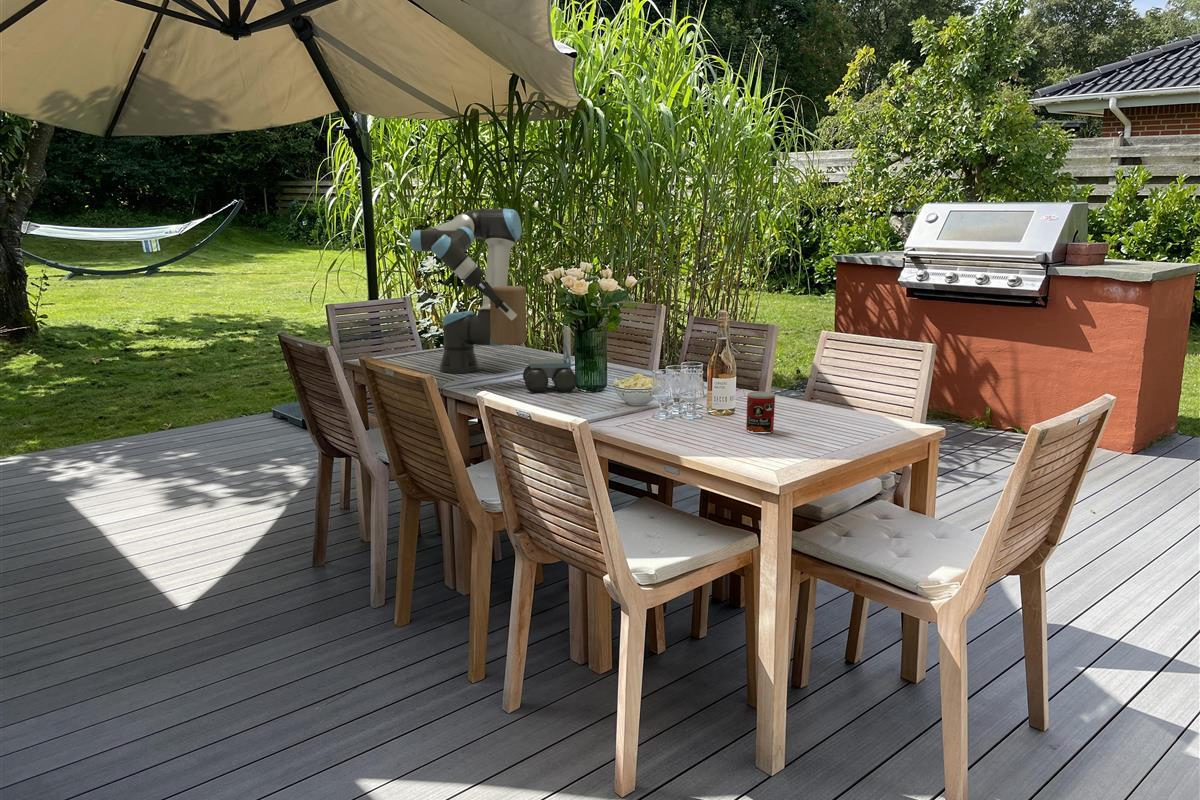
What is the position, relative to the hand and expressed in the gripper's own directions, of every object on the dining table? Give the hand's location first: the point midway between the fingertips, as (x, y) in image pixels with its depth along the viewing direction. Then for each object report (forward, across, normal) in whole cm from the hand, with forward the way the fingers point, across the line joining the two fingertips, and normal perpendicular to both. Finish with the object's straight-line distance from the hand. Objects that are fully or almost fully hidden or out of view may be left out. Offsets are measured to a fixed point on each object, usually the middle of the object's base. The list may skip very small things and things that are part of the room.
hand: (513, 316), depth 324 cm
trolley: (+26, +6, -9) cm, 29 cm away
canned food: (+65, +78, +29) cm, 106 cm away
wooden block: (+6, 0, -8) cm, 10 cm away
